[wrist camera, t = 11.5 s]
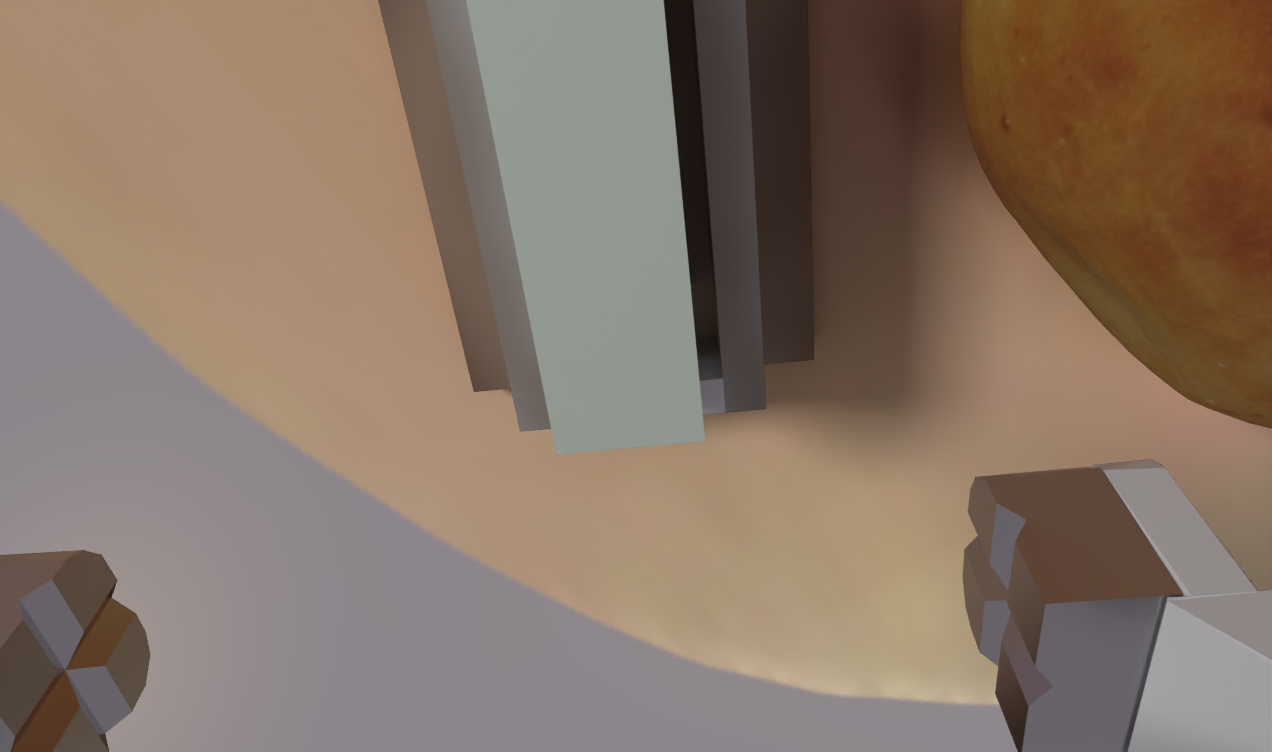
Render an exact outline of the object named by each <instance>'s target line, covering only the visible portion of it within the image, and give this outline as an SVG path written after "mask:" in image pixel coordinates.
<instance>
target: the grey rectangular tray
mask: <svg viewBox="0 0 1272 752" xmlns="http://www.w3.org/2000/svg"><path fill="white" fill-rule="evenodd" d="M378 1H379V5H380V10H381V14H382V18H383V22H384V26H385V30H386V34H387V38H388V42H389V46H390V51H391V55H392V59H393V63H394V67H395V71H396V75H397V79H398V83H399V87H400V91H401V96H402V100H403V104H404V108H405V112H406V116H407V120H408V124H409V128H410V132H411V137H412V141H413V145H414V149H415V153H416V157H417V161H418V165H419V169H420V173H421V177H422V182H423V186H424V190H425V194H426V198H427V202H428V206H429V210H430V214H431V218H432V223H433V227H434V231H435V235H436V239H437V243H438V247H439V251H440V255H441V259H442V263H443V268H444V272H445V276H446V280H447V284H448V288H449V292H450V296H451V300H452V304H453V309H454V313H455V317H456V321H457V325H458V329H459V333H460V337H461V341H462V345H463V350H464V354H465V358H466V362H467V366H468V370H469V374H470V378H471V382H472V386H473V390H474V392H479V391H489V390H500V389H510V388H511V392H512V396H513V401H514V405H515V410H516V415H517V419H518V424H519V428H520V432H521V431H531V430H542V429H551V425H550V420H549V415H548V410H547V405H546V400H545V395H544V390H543V385H542V380H541V375H540V370H539V365H538V360H537V355H536V350H535V345H534V340H533V335H532V330H531V325H530V320H529V315H528V309H527V304H526V299H525V294H524V289H523V284H522V279H521V274H520V269H519V264H518V259H517V254H516V249H515V244H514V239H513V234H512V229H511V224H510V219H509V214H508V209H507V204H506V199H505V194H504V189H503V184H502V179H501V174H500V169H499V164H498V159H497V153H496V148H495V143H494V138H493V133H492V128H491V123H490V118H489V113H488V108H487V103H486V98H485V93H484V88H483V83H482V78H481V73H480V68H479V63H478V58H477V53H476V48H475V43H474V38H473V33H472V28H471V23H470V18H469V13H468V8H467V2H466V0H378ZM664 11H665V21H666V32H667V42H668V53H669V63H670V74H671V85H672V95H673V106H674V116H675V127H676V137H677V148H678V159H679V169H680V180H681V190H682V201H683V211H684V222H685V233H686V243H687V254H688V264H689V275H690V285H691V296H692V307H693V317H694V328H695V338H696V349H697V359H698V370H699V381H700V391H701V402H702V412H703V415H705V414H716V413H727V412H738V411H749V410H760V409H766V399H765V380H764V364H773V363H784V362H794V361H805V360H814V337H813V281H812V224H811V168H810V112H809V56H808V0H664Z"/></svg>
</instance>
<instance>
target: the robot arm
mask: <svg viewBox="0 0 1272 752" xmlns="http://www.w3.org/2000/svg"><path fill="white" fill-rule="evenodd" d="M968 513H969V516H970V518H971V521H972V523H973V525H974V528H975V530H976V532H977V535H978V536H977V537H976V538H975V539H974V540H973V541H972V542H971V543H970V544H969V545H968V546H967V547H966V548H965V549H964V564H963V585H964V595H965V605H966V610H967V614H968V618H969V622H970V626H971V630H972V633H973V635H974V638H975V641H976V644H977V646H978V649H979V652H980V653H981V654H983V655H984V656H985V657H987V658H988V659H989V660H991V661H992V662H993V663H995V664H996V665H998V674H997V683H996V691H995V694H996V697H997V699H998V702H999V704H1000V707H1001V710H1002V712H1003V714H1004V717H1005V720H1006V722H1007V725H1008V728H1009V730H1010V733H1011V735H1012V737H1013V740H1014V743H1015V746H1016V748H1017V751H1018V752H1272V591H1258V590H1257V588H1256V587H1255V586H1254V584H1253V583H1252V582H1251V580H1250V579H1249V578H1248V577H1247V575H1246V574H1245V573H1244V571H1243V570H1242V569H1241V567H1240V566H1239V565H1238V563H1237V562H1236V561H1235V559H1234V558H1233V557H1232V556H1231V554H1230V553H1229V552H1228V550H1227V549H1226V548H1225V546H1224V545H1223V544H1222V542H1221V541H1220V540H1219V538H1218V537H1217V536H1216V535H1215V533H1214V532H1213V531H1212V529H1211V528H1210V527H1209V525H1208V524H1207V523H1206V521H1205V520H1204V519H1203V517H1202V516H1201V515H1200V514H1199V512H1198V511H1197V510H1196V508H1195V507H1194V506H1193V504H1192V503H1191V502H1190V500H1189V499H1188V498H1187V497H1186V495H1185V494H1184V493H1183V491H1182V490H1181V489H1180V487H1179V486H1178V485H1177V483H1176V482H1175V481H1174V479H1173V478H1172V477H1171V476H1170V474H1169V473H1168V472H1167V470H1166V469H1165V468H1164V466H1163V465H1161V464H1159V463H1157V462H1156V461H1154V460H1152V459H1147V460H1137V461H1128V462H1118V463H1109V464H1099V465H1092V466H1091V467H1081V468H1070V469H1059V470H1047V471H1036V472H1025V473H1014V474H1002V475H991V476H980V477H975V479H974V482H973V484H972V487H971V489H970V497H969V506H968ZM116 583H117V579H116V577H115V575H114V574H113V572H112V571H111V569H110V568H109V566H108V564H107V563H106V561H105V560H104V558H103V556H102V555H101V554H97V553H93V552H89V551H85V550H78V551H62V552H44V553H27V554H10V555H0V752H109V748H108V744H107V740H106V735H105V733H106V732H107V731H108V730H110V729H111V728H112V727H113V726H115V725H116V724H117V723H118V722H120V721H121V720H122V719H123V718H125V717H126V716H127V715H128V714H130V713H131V712H132V711H133V709H134V707H135V705H136V703H137V701H138V699H139V697H140V695H141V693H142V691H143V689H144V687H145V686H146V679H147V672H148V666H149V660H150V650H149V645H148V640H147V635H146V631H145V629H144V628H143V626H142V624H141V622H140V620H139V618H138V616H137V614H136V613H134V612H133V611H131V610H130V609H128V608H127V607H125V606H123V605H122V604H120V603H119V602H117V601H116V600H114V599H112V598H111V597H112V594H113V592H114V589H115V586H116Z"/></svg>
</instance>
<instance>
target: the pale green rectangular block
mask: <svg viewBox="0 0 1272 752" xmlns="http://www.w3.org/2000/svg"><path fill="white" fill-rule="evenodd" d="M466 2H467V8H468V13H469V18H470V23H471V28H472V33H473V38H474V43H475V48H476V53H477V58H478V63H479V68H480V73H481V78H482V83H483V88H484V93H485V98H486V103H487V108H488V113H489V118H490V123H491V128H492V133H493V138H494V143H495V148H496V153H497V159H498V164H499V169H500V174H501V179H502V184H503V189H504V194H505V199H506V204H507V209H508V214H509V219H510V224H511V229H512V234H513V239H514V244H515V249H516V254H517V259H518V264H519V269H520V274H521V279H522V284H523V289H524V294H525V299H526V304H527V309H528V315H529V320H530V325H531V330H532V335H533V340H534V345H535V350H536V355H537V360H538V365H539V370H540V375H541V380H542V385H543V390H544V395H545V400H546V405H547V410H548V415H549V420H550V425H551V430H552V435H553V440H554V445H555V450H556V455H559V454H570V453H581V452H592V451H603V450H614V449H625V448H636V447H647V446H658V445H669V444H680V443H691V442H702V441H705V433H704V423H703V412H702V402H701V391H700V381H699V370H698V359H697V349H696V338H695V328H694V317H693V307H692V296H691V285H690V275H689V264H688V254H687V243H686V233H685V222H684V211H683V201H682V190H681V180H680V169H679V159H678V148H677V137H676V127H675V116H674V106H673V95H672V85H671V74H670V63H669V53H668V42H667V32H666V21H665V11H664V0H466Z"/></svg>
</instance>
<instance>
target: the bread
mask: <svg viewBox="0 0 1272 752" xmlns="http://www.w3.org/2000/svg"><path fill="white" fill-rule="evenodd" d="M960 65H961V87H962V96H963V102H964V108H965V113H966V119H967V123H968V127H969V131H970V135H971V139H972V143H973V146H974V149H975V151H976V154H977V156H978V159H979V161H980V164H981V166H982V169H983V171H984V173H985V174H986V176H987V178H988V180H989V182H990V184H991V185H992V187H993V189H994V191H995V192H996V194H997V195H998V197H999V198H1000V200H1001V201H1002V203H1003V204H1004V206H1005V207H1006V209H1007V210H1008V211H1009V212H1010V213H1011V215H1012V216H1013V217H1014V218H1015V220H1016V221H1017V222H1018V224H1019V225H1020V226H1021V228H1022V229H1023V230H1024V232H1025V233H1026V234H1027V235H1028V237H1029V238H1030V239H1031V241H1032V242H1033V243H1034V245H1035V246H1036V247H1037V249H1038V250H1039V251H1040V253H1041V254H1042V255H1043V257H1044V258H1045V259H1046V260H1047V261H1048V262H1049V264H1050V265H1051V266H1052V267H1053V268H1054V269H1055V271H1056V272H1057V273H1058V274H1059V275H1060V276H1061V277H1062V279H1063V280H1064V281H1065V282H1066V283H1067V284H1068V286H1069V287H1070V288H1071V289H1072V290H1073V291H1074V293H1075V294H1076V295H1077V296H1078V297H1079V298H1080V300H1081V301H1082V302H1083V303H1084V304H1085V305H1086V307H1087V308H1088V309H1089V310H1090V311H1091V312H1092V314H1093V315H1094V316H1095V317H1096V318H1097V319H1098V320H1099V321H1100V322H1101V324H1102V325H1103V326H1104V327H1105V328H1106V329H1107V330H1108V331H1109V332H1110V333H1111V334H1112V335H1113V336H1114V337H1115V338H1116V339H1117V340H1118V341H1119V342H1120V343H1121V344H1122V345H1123V346H1124V347H1125V348H1126V349H1127V350H1128V351H1129V352H1130V353H1131V354H1132V355H1133V356H1134V357H1136V358H1137V359H1138V360H1139V361H1140V362H1141V363H1143V364H1144V365H1145V366H1146V367H1147V368H1148V369H1149V370H1151V371H1152V372H1153V373H1154V374H1155V375H1157V376H1158V377H1159V378H1160V379H1162V380H1163V381H1164V382H1166V383H1167V384H1168V385H1169V386H1171V387H1172V388H1173V389H1174V390H1176V391H1177V392H1178V393H1180V394H1181V395H1183V396H1184V397H1186V398H1187V399H1189V400H1191V401H1193V402H1195V403H1198V404H1200V405H1202V406H1204V407H1206V408H1209V409H1212V410H1214V411H1217V412H1220V413H1223V414H1225V415H1228V416H1231V417H1234V418H1237V419H1239V420H1242V421H1245V422H1248V423H1251V424H1255V425H1260V426H1264V427H1268V428H1272V0H962V1H961V23H960Z"/></svg>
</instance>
